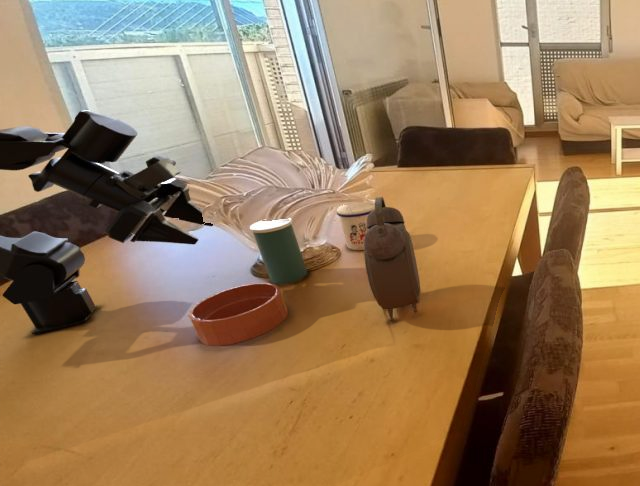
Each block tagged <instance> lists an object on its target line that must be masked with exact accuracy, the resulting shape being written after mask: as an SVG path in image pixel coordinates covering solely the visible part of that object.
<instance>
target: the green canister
mask: <svg viewBox="0 0 640 486" xmlns="http://www.w3.org/2000/svg"><path fill="white" fill-rule="evenodd" d="M249 230H250V232H251V233H252V234H253V237H254V239H255V242H256V245H257V248H258V250H259V253H260V255H261V258H262V262H263V264H264V267H265V270H266V273H267V275H268V278H269V280H270V283H271V284H275V285H284V284H290V283H293V282H297V281H299V280H301V279H303V278H304V277H305V276H307V274H308V270H307V266H306V263H305V261H304V257H303V255H302V251H301V249H300V246H299V245H300V244H299V241H298V239H297V236H296V232H295V230H294V227H293V219H292V218H291V217H289V218H288V219H279V220H272V221H262V220H260V221H256V222H254V223H253V224H251V225H250V226H249Z"/></svg>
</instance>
